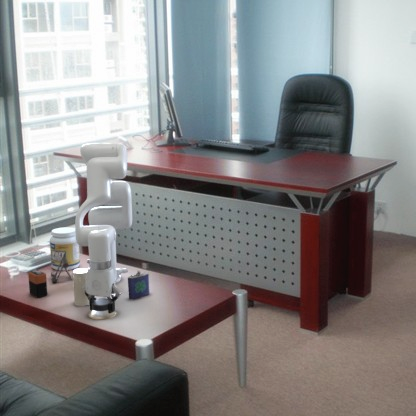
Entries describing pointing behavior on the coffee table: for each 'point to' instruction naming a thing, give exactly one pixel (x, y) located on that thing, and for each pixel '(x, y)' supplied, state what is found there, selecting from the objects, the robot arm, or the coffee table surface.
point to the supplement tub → (64, 248)
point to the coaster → (101, 314)
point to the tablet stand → (64, 265)
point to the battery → (37, 283)
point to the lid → (100, 304)
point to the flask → (138, 286)
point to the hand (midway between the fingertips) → (102, 310)
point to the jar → (80, 287)
